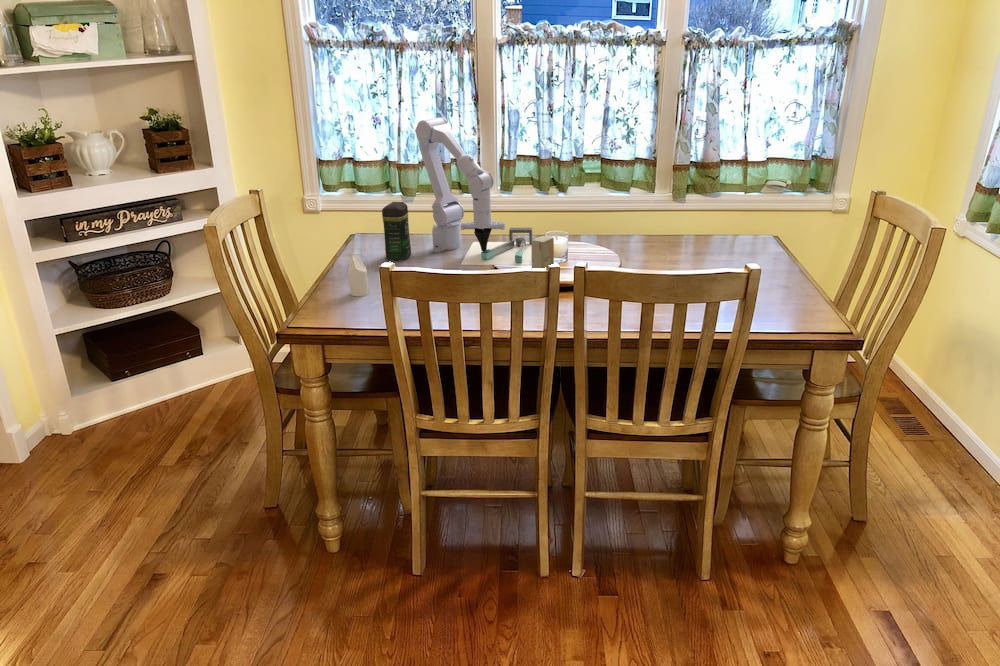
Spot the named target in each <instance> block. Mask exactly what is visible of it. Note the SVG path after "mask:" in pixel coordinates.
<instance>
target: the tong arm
mask: <svg viewBox="0 0 1000 666" xmlns="http://www.w3.org/2000/svg"><path fill="white" fill-rule="evenodd" d="M505 242H506V243H504V244H502V245H500V246H497V247H495V248H493V249H491V250H490V249H488V250H485V251H483V252H481V259H485V260H488V259H490V258H492V257H494V256H495V255H497V254H499V253H501V252H503V251H505V250H508V249H510V248H512V247H514V242H515V240H514V239H513V240H511V241H510V240H509V241H505Z"/></svg>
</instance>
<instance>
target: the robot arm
mask: <svg viewBox="0 0 1000 666" xmlns="http://www.w3.org/2000/svg"><path fill="white" fill-rule="evenodd" d="M414 131H415V135H416V138H417V140H418V146H419V147H418V148H419V152H420V155H421V157H422V160H423V163H424V166H425V170H426V172H427V176H428V179H429V182H430V184H431V188H432V191H433V194H434V197H435V200H434V201H433V203H432V205H431V208H432V216H433V217H432V218H433V221H434V222H435V223H436V224H433V226H432V244H433V245H432V247H433V249H432V252H433V253H440V252H444V251H445V250H456V249H459V248H461V247H462V237H461V236H462V234H461V231H465V230H474V235H475V237H476V239H477V242H479V243H480V246H481V250H482V251H485V250H487V242H489V237H490V235H491V232H492V230H501V231H505V229H506V222H501V221H498V222H497V221H492V209H491V207H492V206H491V189H492V187H493V186H494V178H493V176H492V174H491V173H490V172H489V171H486V170H485V169H482V167H480V165H479V164H478V162H477V161H476V160H475V157H474V156H473V155H471V154H470V153H469V154H468V153H465V151H464V149H463V148H462V146H461V144H460V143H459V142H458V140H457V139H456V137H455V135H454V133H453V132H452V125H451V124H450V123H449V122H448V120H447V118H445V117H443V116H439V117H434V118H431V119H423V120H419V122H418V123H417V125H416V128H415V130H414ZM440 144H442V145H443V146H444V148H446V149H447V151H448V152H449V153H450V154H451V155H452V156H453V158H454V159H456V167H457V168H458V169H459V171H460V172H461V173H462V175H463V176H464V177H465V179H466V180H467V181H468V183H467V186H468V187H467V188H468V189H469V191H470V195H471V198H472V209H473V210H472V211H473V221H469V222H462V220H463V218H464V217H465V211H464V210H465V209H464V207H463V206H462V204H461V202H460V200H459V198H458V197H457V196H455V195H454V194H452V192H451V189H450V185H449V183H448V179H447V176H446V173H445V171H444V170H445V169H444V167H443V164H442V161H441V157H440V155H439V152H438V147H439V145H440Z"/></svg>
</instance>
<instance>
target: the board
mask: <svg viewBox="0 0 1000 666" xmlns="http://www.w3.org/2000/svg"><path fill="white" fill-rule="evenodd" d="M506 242H507V241H488V242H487V250H488V249H490V250H491V249H493V248H495V247H497V246H500V245H502V244H504V243H506ZM519 248H520V247H518V246H516V241H514V247H512V248H510V249H508V250H505V251H503V252H501V253H499V254H497V255H495V256H494V257H492V258H490V259H488V260H485V259H481V252H483V251H482V250H481V246H480V243H479V241H472V243H471V246H470V247H469V249H468V250H467V252H466V254H465V256H464V258H463V260H462V261H461V264H460V266H530V264H531V262H532V249H531V244H529V241H526V247H525V250H524V253H523V261H522V262H515V254H516V252H518V251H519Z"/></svg>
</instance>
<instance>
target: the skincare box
mask: <svg viewBox="0 0 1000 666" xmlns="http://www.w3.org/2000/svg"><path fill="white" fill-rule="evenodd" d="M554 238H555V237H554V236H553V237H551V236H547V235H541V236H539V237H536V238H534V239H533V240H531V249H532V258H531V269H532V268H545V267H547V266H548V265H551V264H554V261H555V260H554V249H555V247H554V244H555V243H554V240H555V239H554Z"/></svg>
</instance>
